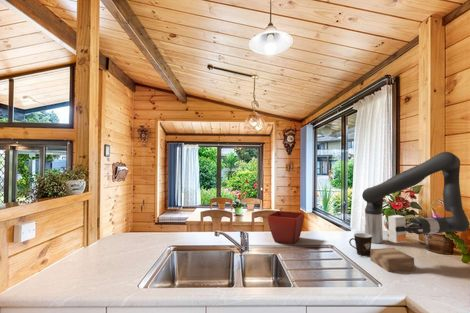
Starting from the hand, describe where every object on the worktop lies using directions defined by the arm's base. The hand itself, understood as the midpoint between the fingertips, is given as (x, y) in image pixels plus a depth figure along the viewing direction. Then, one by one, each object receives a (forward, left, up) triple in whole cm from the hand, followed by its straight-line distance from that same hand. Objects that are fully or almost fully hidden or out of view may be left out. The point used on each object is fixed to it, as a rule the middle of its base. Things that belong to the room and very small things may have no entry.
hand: (392, 228), depth 123 cm
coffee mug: (-18, -6, -18) cm, 26 cm away
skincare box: (0, +3, -7) cm, 7 cm away
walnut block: (-1, -1, -18) cm, 18 cm away
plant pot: (-49, -37, -18) cm, 64 cm away
